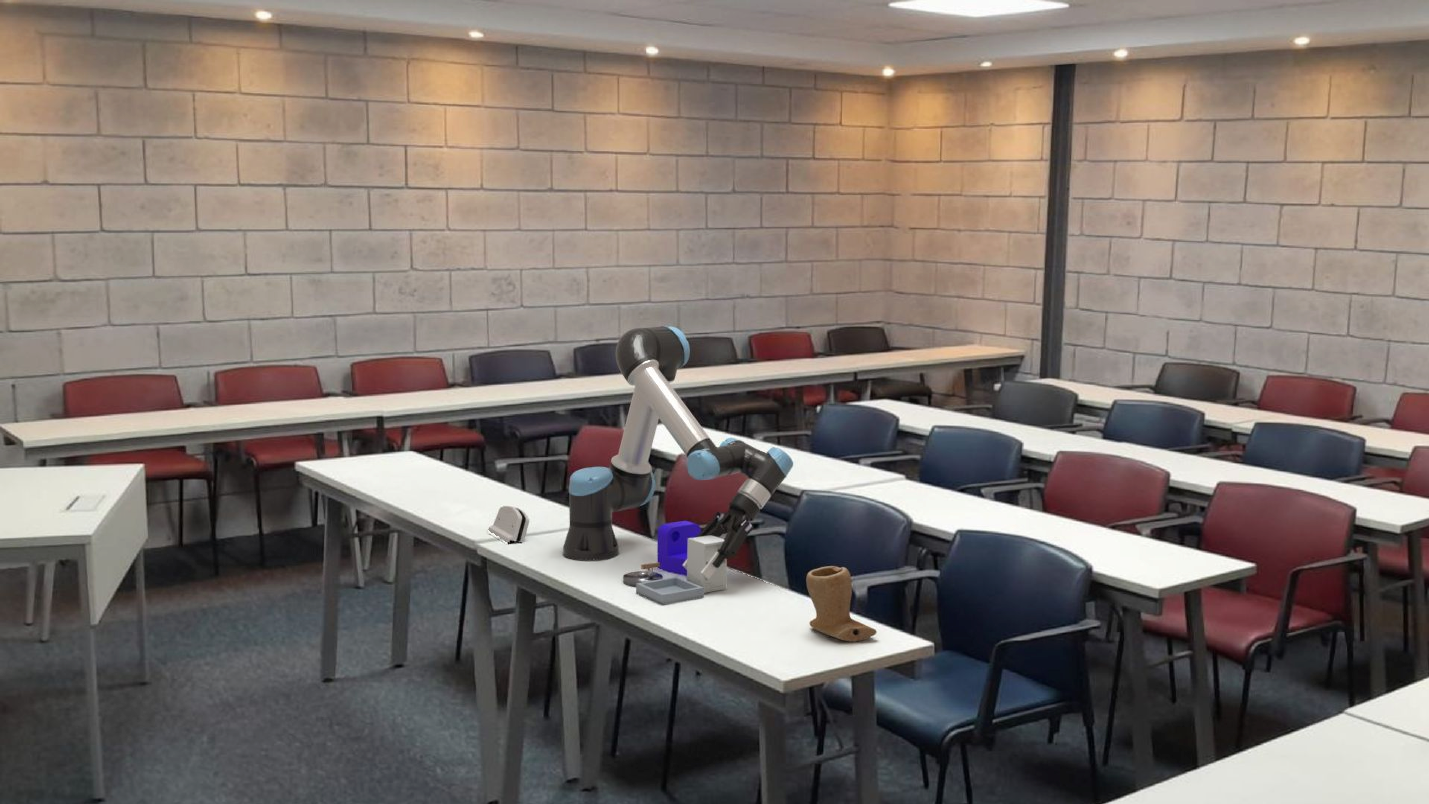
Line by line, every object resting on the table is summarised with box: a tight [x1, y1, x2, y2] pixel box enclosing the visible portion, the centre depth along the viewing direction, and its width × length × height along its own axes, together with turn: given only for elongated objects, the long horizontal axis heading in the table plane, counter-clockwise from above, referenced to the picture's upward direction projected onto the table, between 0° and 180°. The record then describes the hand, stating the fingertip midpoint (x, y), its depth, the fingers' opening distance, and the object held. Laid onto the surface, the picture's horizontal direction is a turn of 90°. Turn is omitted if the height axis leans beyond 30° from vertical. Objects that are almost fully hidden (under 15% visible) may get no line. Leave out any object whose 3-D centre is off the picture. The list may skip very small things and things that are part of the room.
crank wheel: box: [622, 561, 664, 588], centre depth 326 cm, size 10×10×6 cm
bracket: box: [656, 520, 702, 577], centre depth 336 cm, size 18×11×12 cm, turn 37°
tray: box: [635, 576, 705, 606], centre depth 315 cm, size 12×12×2 cm
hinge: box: [487, 505, 530, 543], centre depth 373 cm, size 17×5×10 cm, turn 30°
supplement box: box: [686, 535, 728, 594], centre depth 320 cm, size 7×7×13 cm
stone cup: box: [806, 565, 878, 643], centre depth 284 cm, size 15×12×15 cm
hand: (695, 572), depth 318 cm, fingers closed on supplement box, 7 cm apart
